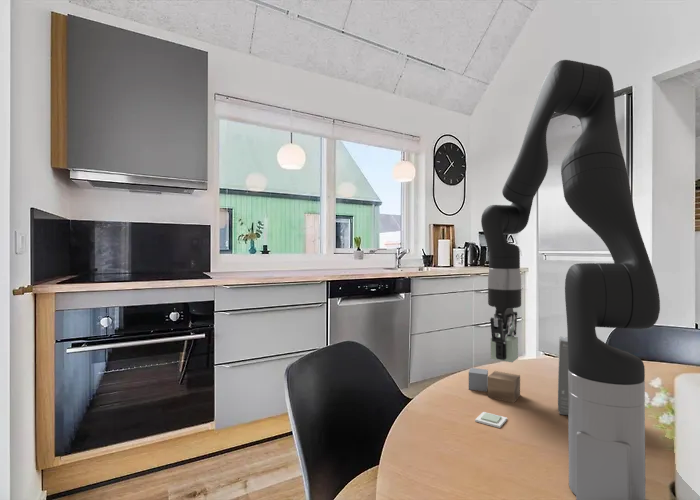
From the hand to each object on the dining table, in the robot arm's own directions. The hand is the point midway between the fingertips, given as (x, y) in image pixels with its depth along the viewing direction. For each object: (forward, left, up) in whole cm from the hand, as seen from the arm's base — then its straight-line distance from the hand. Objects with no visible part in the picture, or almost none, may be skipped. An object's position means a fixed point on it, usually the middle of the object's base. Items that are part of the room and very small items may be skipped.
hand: (504, 356), depth 95 cm
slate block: (+2, +7, -10) cm, 12 cm away
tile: (-16, -2, -10) cm, 19 cm away
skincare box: (0, -16, -10) cm, 19 cm away
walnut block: (0, 0, -10) cm, 10 cm away
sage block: (0, 0, 0) cm, 0 cm away
